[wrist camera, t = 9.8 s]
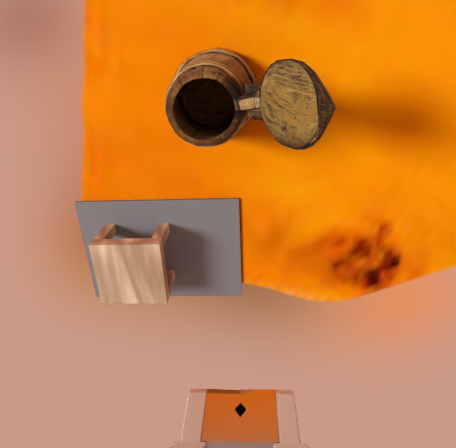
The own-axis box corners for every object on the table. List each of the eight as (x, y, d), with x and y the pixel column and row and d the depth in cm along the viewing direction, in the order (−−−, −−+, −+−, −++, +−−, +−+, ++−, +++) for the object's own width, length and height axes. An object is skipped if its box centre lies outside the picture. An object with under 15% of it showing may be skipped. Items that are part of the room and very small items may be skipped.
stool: (159, 244, 41) (88, 245, 42) (167, 303, 45) (101, 303, 45) (168, 222, 46) (105, 224, 47) (175, 277, 50) (116, 278, 50)
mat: (238, 197, 45) (238, 198, 45) (241, 294, 51) (241, 295, 51) (75, 201, 46) (74, 202, 46) (97, 295, 52) (96, 296, 52)
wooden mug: (302, 126, 41) (338, 179, 25) (181, 141, 42) (139, 202, 26) (297, 35, 37) (337, 28, 21) (164, 55, 38) (104, 63, 22)
